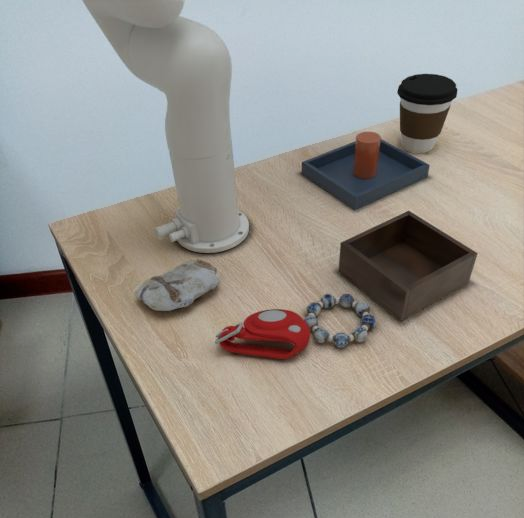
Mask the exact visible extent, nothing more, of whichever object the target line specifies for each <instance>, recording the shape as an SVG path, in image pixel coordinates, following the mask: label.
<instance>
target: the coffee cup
mask: <svg viewBox="0 0 524 518" xmlns="http://www.w3.org/2000/svg"><path fill="white" fill-rule="evenodd" d="M396 94H397V96H399V98H400V101H399V132H400V143H401V146H402V148H403V150H404V151H407V152H408V153H413V154H425V153H429V152H430V151H432V150H433V149H434V147H435V146H436V144H437V141H438V139H439V136H440V135H441V134H442V130H443V128H444V125H445V122H446V119H447V116H448V114H449V111H450V109H451V105H452V102H453V100H455V99H456V98H457V97H458V96H457V95H458V87H457V83H456V82H455V81H454V80H453V79H452V78H450V77H448V76H445V75H441V74H436V73H419V74H414V75H410V76H407V77H405V78H404V79H402V80H401V82H400V84H399V85H398V88H397V92H396Z"/></svg>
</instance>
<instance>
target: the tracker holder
mask: <svg viewBox="0 0 524 518" xmlns="http://www.w3.org/2000/svg"><path fill="white" fill-rule="evenodd" d="M215 337H216V339H215V341H214V344H215V345H219V346H220V347H221V348H222V349H224V350H225V351H228V352H231V353H235V354H240V355H249V356H255V357H262V358H263V357H264V358H270V359H271V358H272V359H279V360H285V359H286V360H287V359H289V358H292V357H293V356H295V355H297V354H299V353H301V352H303V350H305V349H306V348H307V346H308V345H309V342H310V338H311V330H309V327H308V325H307V324H306V322H305V321H304V318H303V317H302V316H301V315H299V314H298V313H297V312H295V311H292V310H289V309H283V308H281V309H279V308H276V309H274V308H273V309H272V308H271V309H265V310H260V311H256V312H254V313H251V314H250V315H248V316H246V318H245V319H244V321H243V322H239V323H238V324H235V325H229V326H225V327H224V328H223V329H222V330H221V331H220V332H218V333H217V334H216V335H215ZM235 339H239V340H247V341H266V342H267V341H268V342H283V343H288V344H292V345H294V347H293V349H288V348H278V347H269V346H260V345H252V344H242V343H237V342H234V341H235Z"/></svg>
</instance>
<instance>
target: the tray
mask: <svg viewBox="0 0 524 518" xmlns="http://www.w3.org/2000/svg"><path fill="white" fill-rule="evenodd" d="M355 144H356V140H355V141H352V142H349V143H347V144H345V145H341V146H339V147H337V148H334V149H332V150H329V151H327V152H324V153H322V154H319V155H316V156H313V157H310V158H309V159H306V160H304V161H303V160H302V161H301V175H302V176H304V177H305V178H307V179H308V180H309V181H311V182H313V183H314V184H316V185H317V186H319V187H320V188H322V189H323V190H325V191H326V192H328V193H329V194H331V195H332V196H333V197H335V198H337V199H338V200H340V202H342V203H344V204H346V205H347V206H349V208H351V209H353V210H355V211H356V210H358V209H361V208H362V207H364V206H367V205H369V204H371V203H373V202H375V201H377V200H380V199H382V198H384V197H387V196H388V195H390V194H394V193H395V192H398V191H400V190H402V189H405V188H406V187H407V188H408V187H409V186H411V185H414V184H415V183H417V182H419V181H422V180H424V179H428V176H429V171H430V166H431V165H430V164H429V163H427V162H425V161H423V160H422V159H420V158H418V157H416V156H414V155H412V154H410V153H409V152H406V150H404V149H401V148H399V147H397V146H395V145H394V144H391V142H390V143H389V142H388V141H386V140H384V139H382V138H381V142H380V150H379V159H378V167H377V174H376V176H375V177H373V178H370V179H361V178H358V177H356V176H355V175H354V174H353V168H354V156H355Z"/></svg>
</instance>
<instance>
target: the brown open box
mask: <svg viewBox="0 0 524 518" xmlns="http://www.w3.org/2000/svg"><path fill="white" fill-rule="evenodd" d="M477 257H478V252H477V251H475V250H473V249H472V248H471V247H469V246H467V245H465V244H463V243H462V242H461V241H459V240H457V239H455V238H454V237H452V236H451V235H449V234H448V233H446V232H444V231H443V230H441V229H439V228H438V227H436V226H434V225H433V224H431V223H430V222H428V221H427V220H425V219H423V218H421V217H420V216H419V215H417V214H415V213H414V212H412V211H410V210H407V211H405V212H402V213H401V214H399V215H396V216H394V217H392V218H390V219H388V220H386V221H383V222H381V223H379V224H377V225H375V226H373V227H371V228H369V229H367V230H364V231H363V232H360V233H358V234H356V235H353V236H352V237H350V238H348V239H345V240H343V241H341V242H340V247H339V260H338V273H339V274H341V276H343V277H344V278H345V279H347V280H348V281H349V282H351V284H352V285H354V286H356V287H357V288H358V289H359V290H360V291H362V292H363V293H364V294H365V295H366V296H367V297H369V298H370V299H371V300H372V301H375V302H376V303H377V304H378V305H379V306H380V307H381V308H383V309H384V310H385V311H387V312H388V313H389V314H390V315H391V316H393V317H394V318H395V319H397V320H398V321H399V322H402V321H404V320H406V319H408V318H409V317H411V316H413V315H415V314H417V313H418V312H421V311H422V310H425V308H427V307H429V306H431V305H432V304H435V303H436V302H438V301H440V300H441V299H443V298H445V297H446V296H449V295H450V294H452V293H454V292H455V291H457V290H459V289H460V288H462V287H464V286H466V285H468V284H469V283H470V280H471V277H472V273H473V270H474V267H475V264H476V260H477Z"/></svg>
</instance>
